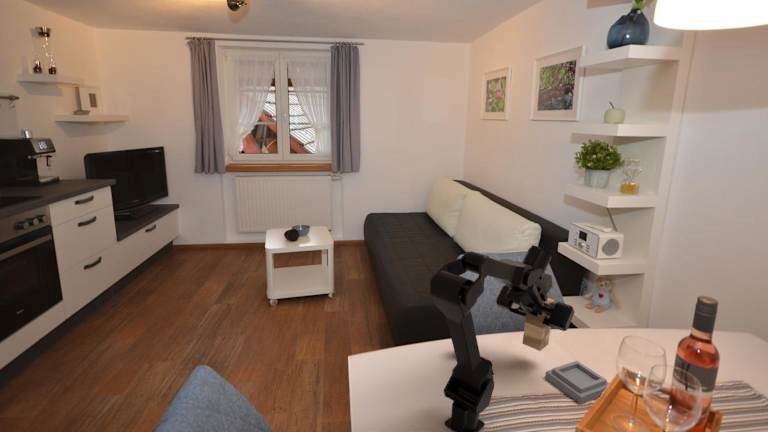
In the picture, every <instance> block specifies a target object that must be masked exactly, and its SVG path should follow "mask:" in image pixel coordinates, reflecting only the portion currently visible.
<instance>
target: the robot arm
mask: <svg viewBox="0 0 768 432" xmlns="http://www.w3.org/2000/svg"><path fill="white" fill-rule="evenodd" d="M551 259H552V255H551V254H550V253H548V252H547V251H546V250H543V249H541V247H540V246H537V245H534V244H532V245H531V246H530V247H529V248H528V250H527V251H526V253H525V255H524V258H523V259H522V261H517V260H512V259H508V258H502V259H500V260H497V259H494V258H492V257H490V256H489V255H487V254H484V253H480V252H476V251H466V252H465V253H463V255H462V256H461V257H460V258H458V259H456V260H453V261H451V262H448V263H446V264H444V265H443V266H442V267H441V268H440V269H439V270H438V271H437V272H436V273H435V274H434V275H433V276H432V277H431V279H430V281H429V288H428V290H429V296H430V298H431V299H432V301H433V303H434V305H435V306H436V308H437V309H438V310H439V311H440V312H441V313H442V314H443V315H444V317H445V319H446V322H447V328H448V332H449V335H450V338H451V343H452V347H453V352H454V351H455V355H456V358H455V360H456V365H455V366H453V369H452V371H451V375H450V377H449V379H448V381H447V383H446V385H445V387H444V388H443V394H444V397H445V398H447V399H449V400H451V401H452V403H451V404H452V405H451V414H450V415H451V416H450V417H449V418H448V419H446V421H444V425H445V426H446V427H448V428H449V429H450V430H451V431H454V432H479V431H480V430H482V429H483V428H484V427H485V422H484V421H482V420H480V414H481V413H482V412H483V411H484V410H486V409H487V408H488V407H489V406H490V402H491V401H492V400H491V399H492V396H493V393H494V388H495V381H494V380H495V379H494V378H495V377H494V375H495V371H493V369H494V368H493V363H492V361H491V360H489V359H487V358H485V357H483V356H481V354H480V350H479V344H478V340H477V339H478V338H477V333H476V329H475V325H474V320H473V316H472V310H473V308H475V305H476V304H477V303H478V299H479V298H480V296H481V295H482V294H483V293H484V291H485V279H486V278H487V277H492V278H494V279H495V280H497V281H498V282H500V283H501V284H504V285H503V286H502V287H500V288H501V289H500V291H499V293H498V295H497V296H496V299H495V304H496V305H497V306H498V308H501V309H503V310H506V311H509V312H510V313H513V314H515V315H518V316H521V317H525V318H526V314H529V315H532V316H534V317H537V316H538V315H540V316H542V314H543V312H544V313H545V318H544V320H543V322H542V324H545V325H547V326H550V327H551V328H554V329H557V330H559V331H561V332H566V331H567V330H568V329H569V327H570V326H569V325H570V323H571V321H572V319H573V316H574V315H575V310H574V308H573V305H570V304H568V303H564V302H561V301H557V302H556V303H555V302H554V303H549V304H547V303H544V301H547V299H548V298H549V296H548V293H549V292H550V290H551V289H552V288H553V285H554V284H553V277H552V275H551V274H548V273H546V270H547V268H548V267H549V264H550V262H551ZM467 272H470V273H474V274H476V275H478V277H477V278H476V279H475V280H472V279H470V278H466V277H464V276H461V275H463V274H466V273H467ZM545 306H546V307H545Z"/></svg>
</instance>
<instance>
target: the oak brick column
mask: <svg viewBox="0 0 768 432" xmlns="http://www.w3.org/2000/svg"><path fill="white" fill-rule="evenodd" d="M555 301H556V300H555V299H552V298H550V297H548V299H547V301H544V303H547V304H549V303H555ZM545 307H546V306H545ZM544 318H545V313H544V312H543V314H542V316H540V315H538V316H537V317H534V316H532V315H529V314H526V317H525V320H524V328H523V335H522V336H523V337H522V343H521V344H523V345H525V346H527V347H530V348H532V349H534V350H536V351H538V352H541V351H542V350H544V349H545V348H546V347H547V346H548V345H549V343H550V335H551V328H552V327H550V326H547V325H545V324H542V322H543V320H544Z"/></svg>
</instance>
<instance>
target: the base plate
mask: <svg viewBox="0 0 768 432" xmlns="http://www.w3.org/2000/svg"><path fill="white" fill-rule="evenodd" d="M544 378H545V379H546V380H547V381H548V382H549V383H551V384H552V385H554V386H555V387H556V388H558V389H559V390H560V391H562V392H563V393H564V394H566V395H567V396H568V397H570V398H571V399H572V398H573V399H572V400H573V401H575V402H576V401H577V402H576V403H578V404H579V405H582V404H585V403H587V401H588V402H590V401H592V400H595V399H598V398H600V397H599V396H600V395H601V394H602V392H603V391H604V390H605V389H606V388H607V386H608V385H609V384H611V383H609V382H608V380H607V379H606V378H605V377H603V376H601V374H598V373H597V372H595V371H594V370H592V369H591V368H589V367H588V366H586V365H585V364H583V363H581V362H580V361H579V360H574V361H572V362H569V363H566V364H563V365H560V366H556V367H554V368H551V369H549V370H547V371H545V376H544Z"/></svg>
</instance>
